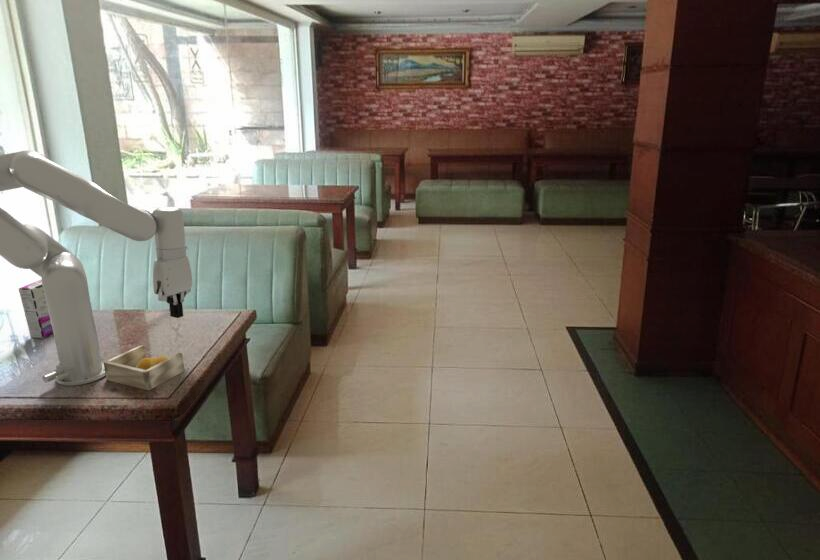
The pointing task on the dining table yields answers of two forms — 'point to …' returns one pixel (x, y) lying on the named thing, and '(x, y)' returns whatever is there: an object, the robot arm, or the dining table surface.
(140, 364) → the bread roll
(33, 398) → the dining table surface
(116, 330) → the dining table surface
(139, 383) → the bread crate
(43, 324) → the candy bar box
